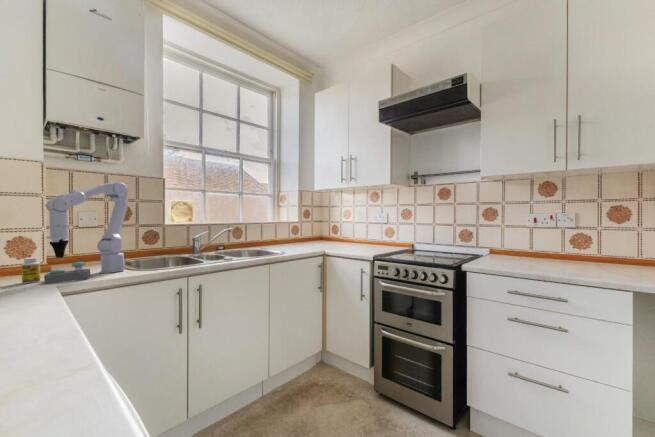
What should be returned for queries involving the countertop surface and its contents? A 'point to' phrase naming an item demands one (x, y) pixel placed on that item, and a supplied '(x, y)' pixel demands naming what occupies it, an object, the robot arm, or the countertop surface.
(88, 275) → the panel box
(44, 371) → the countertop surface
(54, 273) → the knob
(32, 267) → the supplement bottle
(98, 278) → the countertop surface
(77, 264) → the knob
